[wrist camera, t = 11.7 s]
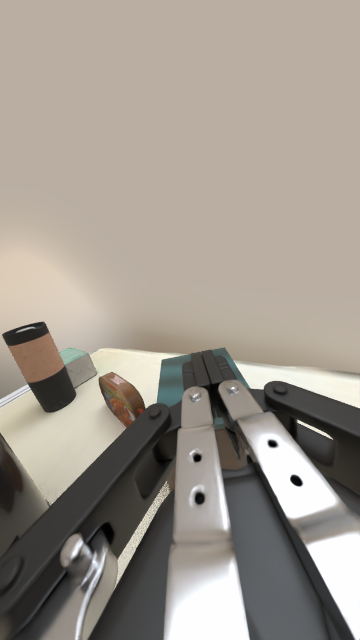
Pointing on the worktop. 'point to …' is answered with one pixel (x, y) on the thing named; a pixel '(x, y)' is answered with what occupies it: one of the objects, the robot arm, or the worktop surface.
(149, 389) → the worktop surface
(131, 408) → the tin
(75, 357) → the box
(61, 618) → the robot arm
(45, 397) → the travel mug
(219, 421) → the lid
